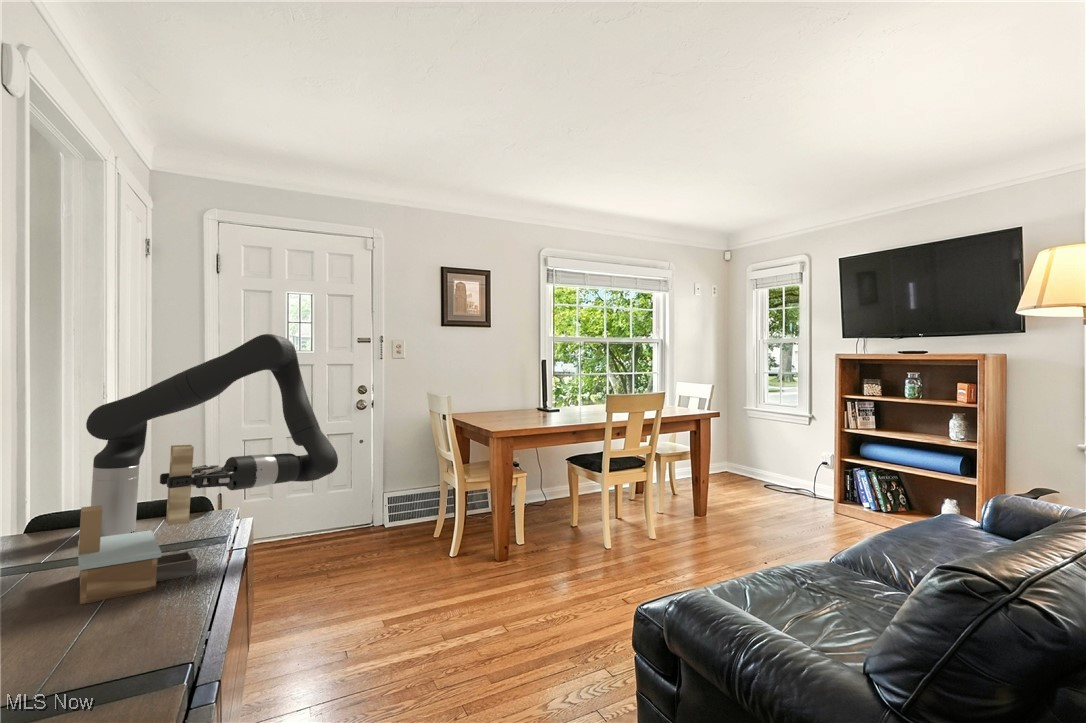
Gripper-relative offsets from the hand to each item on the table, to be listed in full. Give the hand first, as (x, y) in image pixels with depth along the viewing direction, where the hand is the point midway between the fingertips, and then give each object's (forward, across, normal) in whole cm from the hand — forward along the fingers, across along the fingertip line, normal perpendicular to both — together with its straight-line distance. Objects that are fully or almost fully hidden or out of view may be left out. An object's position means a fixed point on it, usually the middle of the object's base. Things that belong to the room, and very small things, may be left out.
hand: (164, 481), depth 108 cm
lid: (+7, -2, +13) cm, 15 cm away
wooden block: (-3, 0, +9) cm, 9 cm away
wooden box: (+3, -1, +19) cm, 20 cm away
